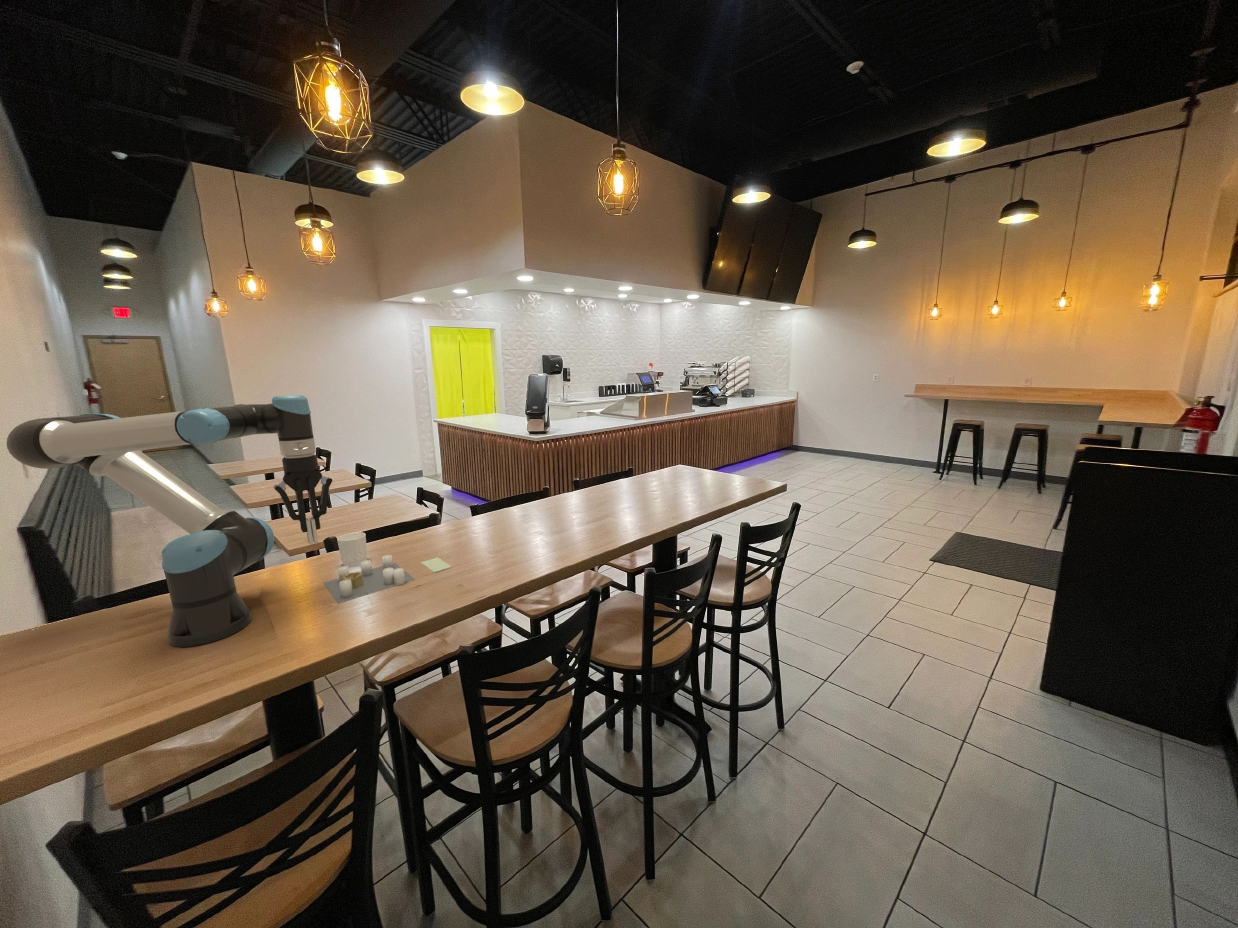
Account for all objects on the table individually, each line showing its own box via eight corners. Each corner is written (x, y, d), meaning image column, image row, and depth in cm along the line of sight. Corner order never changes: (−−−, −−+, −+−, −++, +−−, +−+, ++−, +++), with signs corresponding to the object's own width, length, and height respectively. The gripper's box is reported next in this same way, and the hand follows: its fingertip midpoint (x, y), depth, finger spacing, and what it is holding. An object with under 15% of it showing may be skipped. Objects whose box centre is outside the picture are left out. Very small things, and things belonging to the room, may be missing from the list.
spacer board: (338, 608, 123) (336, 589, 122) (323, 586, 136) (320, 569, 135) (416, 583, 136) (414, 567, 135) (395, 566, 150) (393, 550, 149)
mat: (412, 579, 139) (412, 578, 139) (400, 568, 147) (399, 568, 147) (451, 567, 147) (451, 566, 147) (437, 558, 155) (437, 557, 155)
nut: (347, 590, 130) (346, 580, 130) (342, 585, 134) (341, 575, 133) (364, 585, 133) (363, 575, 133) (359, 580, 137) (358, 570, 136)
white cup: (348, 572, 146) (343, 542, 144) (337, 567, 150) (332, 537, 148) (373, 564, 152) (369, 535, 150) (362, 559, 156) (358, 530, 154)
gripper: (269, 461, 114) (285, 552, 118) (332, 453, 123) (344, 539, 127) (265, 457, 119) (280, 545, 124) (325, 450, 128) (338, 532, 133)
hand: (313, 542), depth 125 cm, fingers closed
